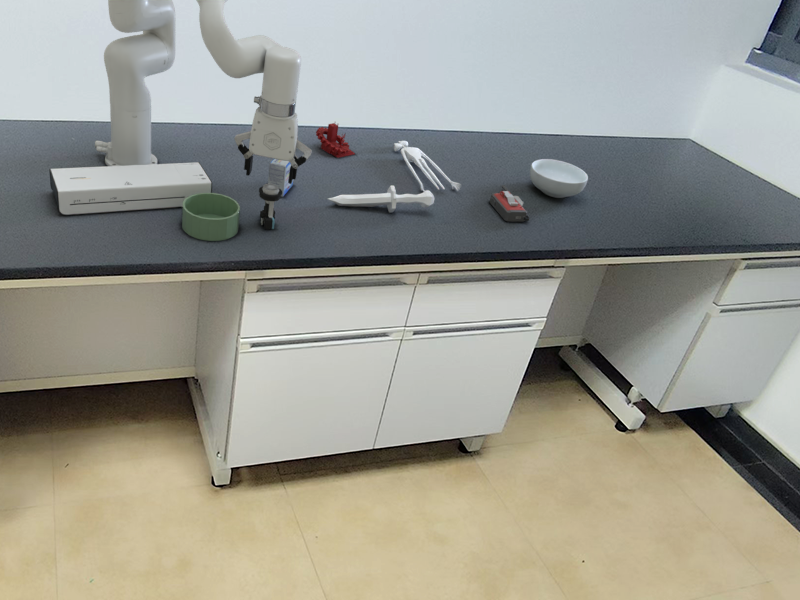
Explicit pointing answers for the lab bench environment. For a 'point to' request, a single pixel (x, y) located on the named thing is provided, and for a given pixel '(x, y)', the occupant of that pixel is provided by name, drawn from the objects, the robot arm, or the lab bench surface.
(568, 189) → the cereal bowl
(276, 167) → the medicine box
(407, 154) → the alien
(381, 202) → the dagger
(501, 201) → the walkie-talkie
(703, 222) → the lab bench surface
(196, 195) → the green round bowl
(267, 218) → the push button
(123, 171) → the laminator
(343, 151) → the diorama
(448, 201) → the lab bench surface
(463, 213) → the lab bench surface
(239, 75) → the robot arm
